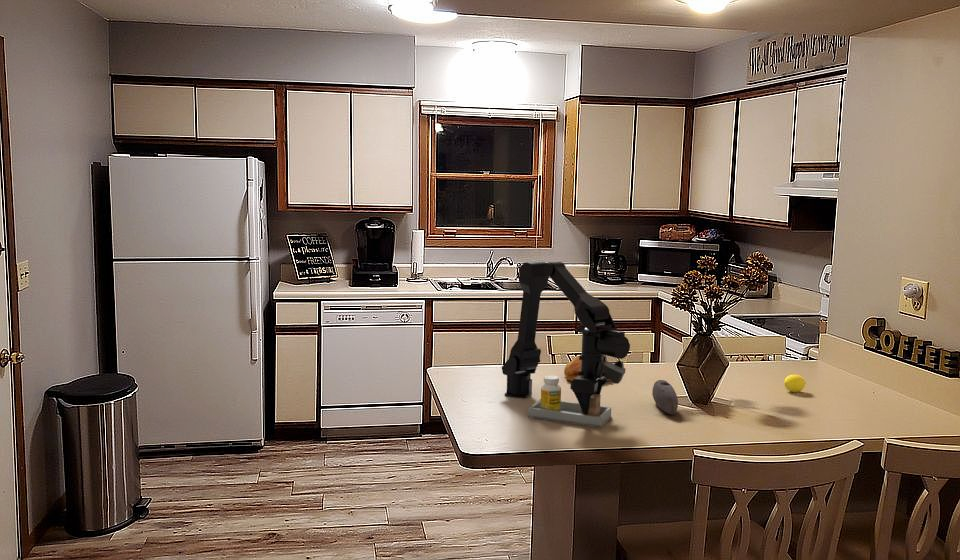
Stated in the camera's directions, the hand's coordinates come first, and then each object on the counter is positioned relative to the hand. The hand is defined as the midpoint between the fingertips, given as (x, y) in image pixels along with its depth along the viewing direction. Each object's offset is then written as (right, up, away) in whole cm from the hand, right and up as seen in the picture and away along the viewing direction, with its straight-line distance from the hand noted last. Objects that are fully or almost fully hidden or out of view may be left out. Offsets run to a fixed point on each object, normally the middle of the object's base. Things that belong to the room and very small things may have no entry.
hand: (590, 409), depth 210 cm
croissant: (+5, +2, +43) cm, 44 cm away
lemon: (+66, 0, +32) cm, 74 cm away
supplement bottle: (-10, -2, +5) cm, 11 cm away
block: (0, -2, 0) cm, 2 cm away
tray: (-5, -2, +2) cm, 6 cm away
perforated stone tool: (+22, -2, +11) cm, 25 cm away
